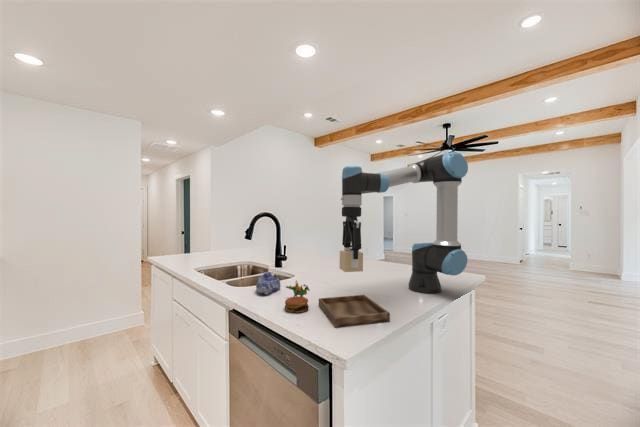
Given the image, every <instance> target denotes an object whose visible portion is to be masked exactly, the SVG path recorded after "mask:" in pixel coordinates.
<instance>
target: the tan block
mask: <svg viewBox="0 0 640 427" xmlns="http://www.w3.org/2000/svg"><path fill="white" fill-rule="evenodd" d="M339 270H342V271H343V272H345V273H356V272H357V273H358V272H364V252H362V251H359V258H358V268H351V251H344V250H339Z"/></svg>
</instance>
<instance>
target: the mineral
mask: <svg viewBox="0 0 640 427" xmlns="http://www.w3.org/2000/svg"><path fill="white" fill-rule="evenodd" d="M281 287H282V285H281V280H280V279H279V278H278V277H274V276H273V275H272V272H271V271H269V272H264V273H263V274H261V276H258V277H257V283H256V285H255V288H256V289H255V290H256V292H258V293H259V294H265V295H269V294H270V293H271V294H272V293H273V292H274V291H280V290H281Z"/></svg>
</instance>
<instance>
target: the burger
mask: <svg viewBox="0 0 640 427" xmlns="http://www.w3.org/2000/svg"><path fill="white" fill-rule="evenodd" d="M284 304H285V305H284V310H285V312H288V313H296V314H297V313H302V312H306V311H308V310H309V307H310V306H309V300H308V298H307V297H304V296H303V297H302V296H301V297H300V295H297V297H296V296H295V297H294V296H290V297H288V298H287V299H285V301H284Z"/></svg>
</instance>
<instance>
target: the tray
mask: <svg viewBox="0 0 640 427" xmlns="http://www.w3.org/2000/svg"><path fill="white" fill-rule="evenodd" d="M318 307H319V308H320V310H321V311H322V312H323V313H324V315H325V316H326V317H327V319H328V321H330V323H331V324H332V325H333V327H334V328H335V329H338V328H345V327H355V326H364V325H371V324H380V323H390V322H391V313H390V312H389V311H388V310H386V309H385V308H384V307H382V306H381V305H379V304H378V303H376V302H375V301H374V300H372V299H371V298H369V297H368V296H367V295H365V294H358V295H355V294H354V295H347V296H345V295H343V296H332V297H321V298H318Z"/></svg>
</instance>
